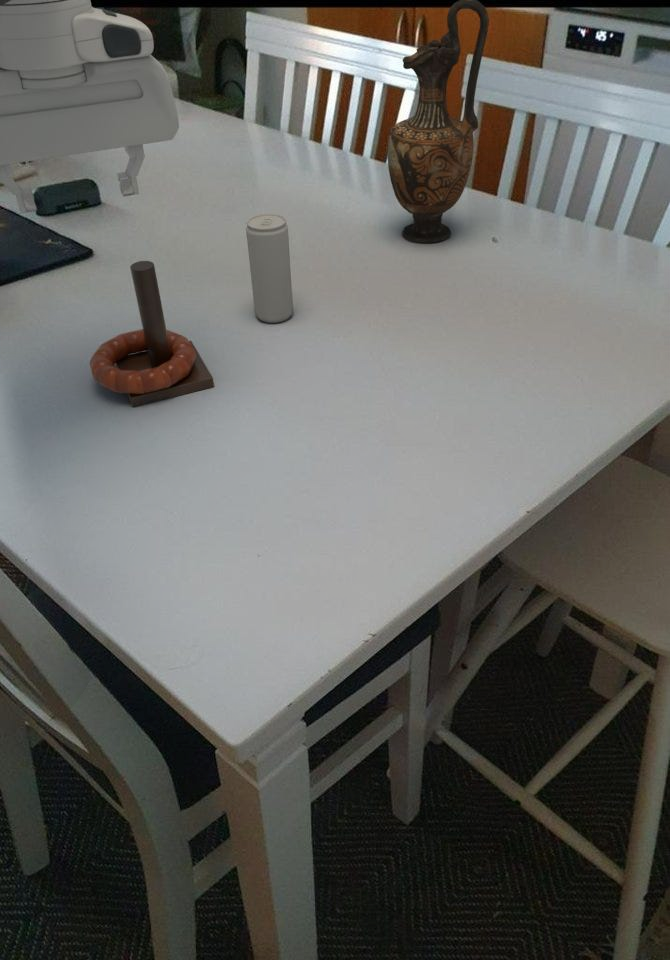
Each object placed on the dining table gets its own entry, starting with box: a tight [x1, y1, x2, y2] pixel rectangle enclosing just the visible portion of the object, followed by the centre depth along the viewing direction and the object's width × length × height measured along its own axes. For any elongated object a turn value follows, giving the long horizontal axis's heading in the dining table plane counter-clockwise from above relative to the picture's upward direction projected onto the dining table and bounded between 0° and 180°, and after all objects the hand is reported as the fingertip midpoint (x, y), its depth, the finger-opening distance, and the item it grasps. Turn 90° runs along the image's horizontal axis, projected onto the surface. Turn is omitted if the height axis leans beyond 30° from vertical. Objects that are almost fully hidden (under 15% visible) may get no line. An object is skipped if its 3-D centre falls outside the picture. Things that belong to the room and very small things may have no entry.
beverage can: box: [245, 213, 294, 324], centre depth 97 cm, size 5×5×12 cm
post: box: [114, 260, 215, 408], centre depth 86 cm, size 9×9×13 cm
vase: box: [386, 0, 490, 244], centre depth 108 cm, size 12×12×30 cm
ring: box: [89, 328, 196, 394], centre depth 88 cm, size 11×11×2 cm
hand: (80, 202), depth 76 cm, fingers open, 8 cm apart
